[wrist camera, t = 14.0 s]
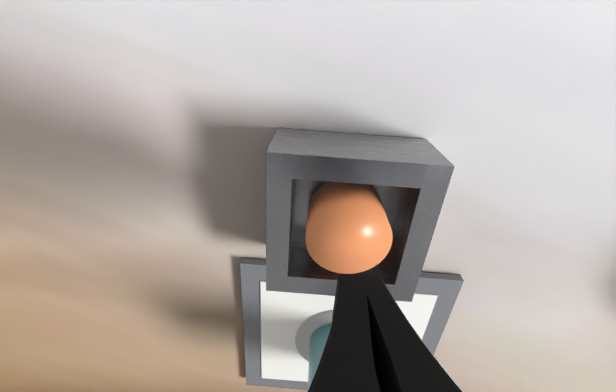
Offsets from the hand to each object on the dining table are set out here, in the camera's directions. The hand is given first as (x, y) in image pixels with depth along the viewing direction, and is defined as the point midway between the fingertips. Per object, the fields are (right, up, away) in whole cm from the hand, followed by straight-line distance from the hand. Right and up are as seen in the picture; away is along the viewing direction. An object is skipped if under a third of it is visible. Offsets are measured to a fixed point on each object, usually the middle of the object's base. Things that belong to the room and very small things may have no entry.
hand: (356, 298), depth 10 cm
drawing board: (+1, -6, +11) cm, 12 cm away
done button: (0, +3, +5) cm, 6 cm away
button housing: (0, +3, +6) cm, 7 cm away
